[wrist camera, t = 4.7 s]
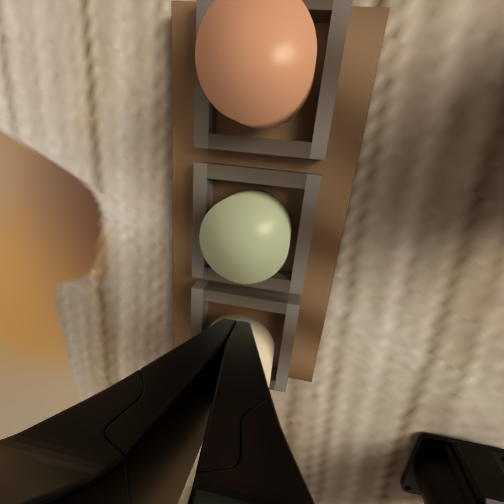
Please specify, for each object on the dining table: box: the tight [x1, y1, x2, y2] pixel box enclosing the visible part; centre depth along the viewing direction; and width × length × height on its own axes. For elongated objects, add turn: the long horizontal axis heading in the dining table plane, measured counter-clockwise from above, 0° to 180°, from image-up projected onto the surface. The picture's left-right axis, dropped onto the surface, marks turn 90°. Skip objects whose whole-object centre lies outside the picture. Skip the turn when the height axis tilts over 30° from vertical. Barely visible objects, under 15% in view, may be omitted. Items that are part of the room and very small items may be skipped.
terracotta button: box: [195, 0, 317, 129], centre depth 12 cm, size 5×5×3 cm
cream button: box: [210, 314, 274, 387], centre depth 18 cm, size 5×5×3 cm
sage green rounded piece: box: [199, 189, 292, 284], centre depth 16 cm, size 5×5×3 cm
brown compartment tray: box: [171, 0, 390, 392], centre depth 18 cm, size 23×11×3 cm, turn 175°
